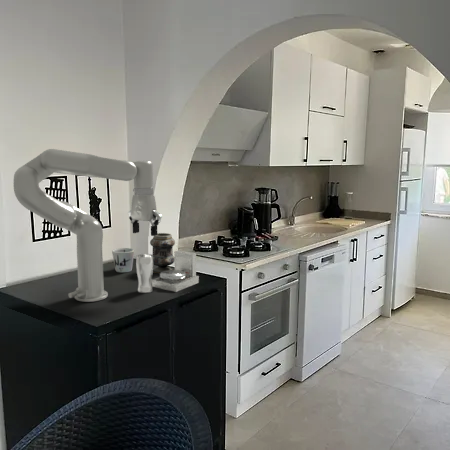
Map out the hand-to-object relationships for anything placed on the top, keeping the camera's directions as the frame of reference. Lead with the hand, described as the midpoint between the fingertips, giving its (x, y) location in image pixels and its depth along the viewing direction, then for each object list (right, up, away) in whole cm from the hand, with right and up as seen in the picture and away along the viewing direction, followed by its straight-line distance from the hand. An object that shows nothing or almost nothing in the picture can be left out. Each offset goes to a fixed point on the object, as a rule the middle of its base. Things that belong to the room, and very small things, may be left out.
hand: (145, 234), depth 187 cm
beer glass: (-1, -24, +4) cm, 24 cm away
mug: (-16, -18, +37) cm, 44 cm away
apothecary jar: (+3, -19, +35) cm, 39 cm away
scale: (+11, -22, +13) cm, 28 cm away
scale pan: (+10, -18, +11) cm, 24 cm away
